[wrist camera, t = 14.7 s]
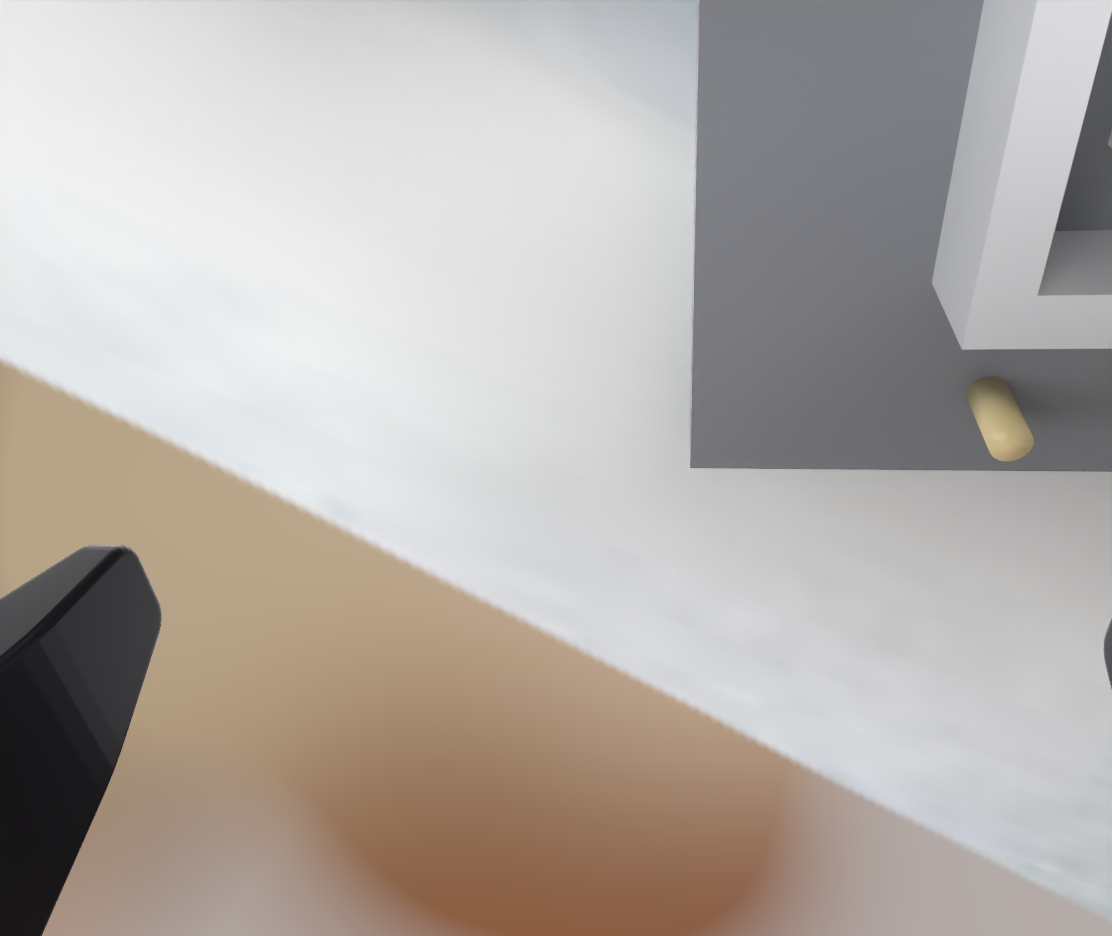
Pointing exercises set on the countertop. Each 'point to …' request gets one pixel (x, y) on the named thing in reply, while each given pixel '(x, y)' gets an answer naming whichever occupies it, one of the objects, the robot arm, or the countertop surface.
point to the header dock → (903, 235)
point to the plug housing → (1110, 140)
